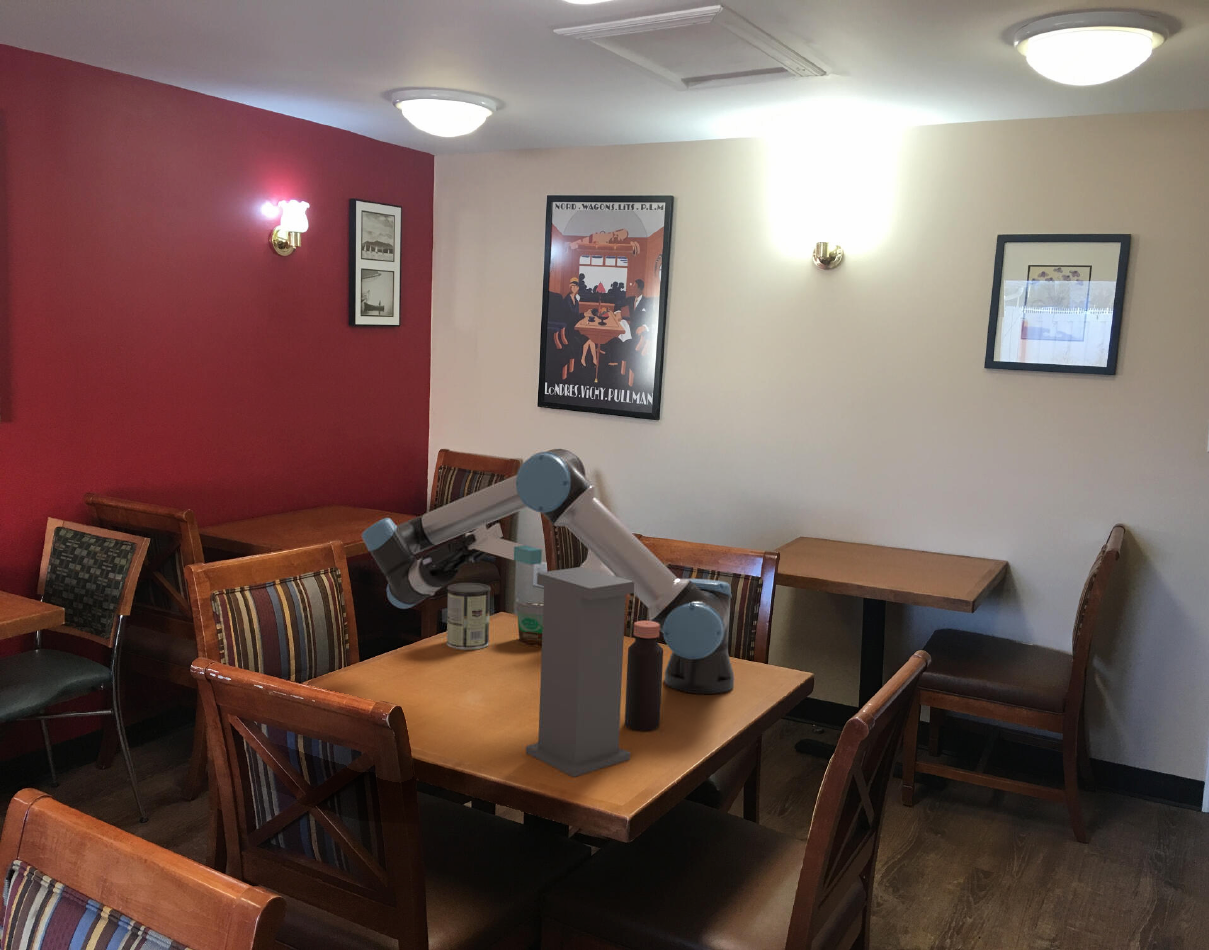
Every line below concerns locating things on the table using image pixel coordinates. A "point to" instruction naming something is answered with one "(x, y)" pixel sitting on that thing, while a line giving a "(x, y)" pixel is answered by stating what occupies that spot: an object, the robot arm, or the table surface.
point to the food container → (530, 622)
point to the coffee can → (468, 616)
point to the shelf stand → (581, 670)
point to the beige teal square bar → (510, 550)
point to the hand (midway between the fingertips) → (492, 530)
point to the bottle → (644, 678)
